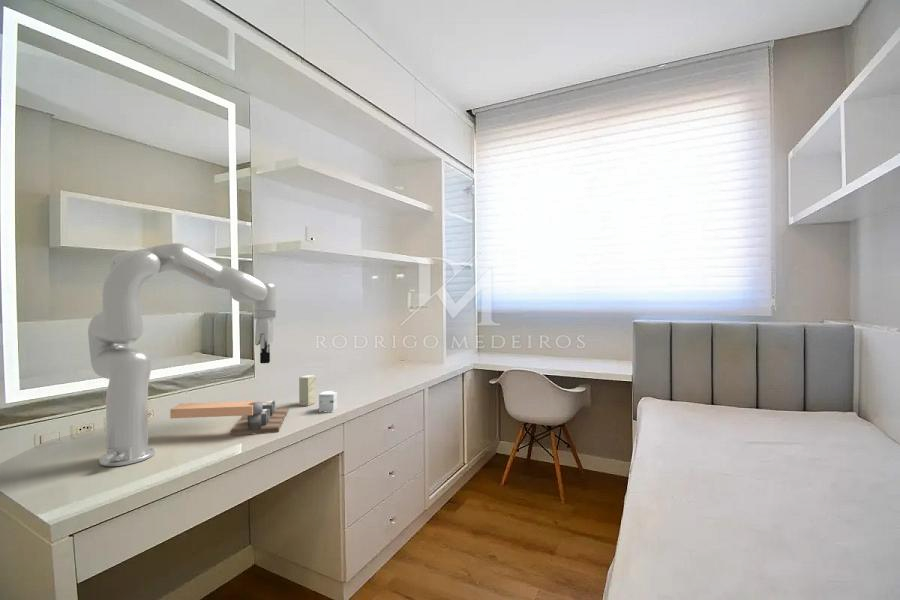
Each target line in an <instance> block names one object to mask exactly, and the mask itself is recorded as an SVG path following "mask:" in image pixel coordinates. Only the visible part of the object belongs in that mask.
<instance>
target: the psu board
mask: <svg viewBox="0 0 900 600" xmlns="http://www.w3.org/2000/svg"><path fill="white" fill-rule="evenodd" d="M260 402H262V403H263V412H262V413H259V414H253V415H247V416H241V418H240V419H239V420H238V422H236V424H235V425H234V426H233V427H232V429H231V430H230V436H242V435H241V434H245V435H253V434H252V433H258V434H266V433H265V432H271V433H280V431H281V428H282V426H283V424H284V422H285V420H284V419H286V418H285V417H287V415H288V413H289V407H281V408H279V407H278V408H276V400H265V401H260ZM283 421H284V422H283Z"/></svg>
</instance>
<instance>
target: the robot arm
mask: <svg viewBox="0 0 900 600" xmlns="http://www.w3.org/2000/svg"><path fill="white" fill-rule="evenodd" d="M109 270H110V272H109V274H108V275H106V276H107V277H106V278H105V281H104V282H103V286H102V294H101V295H102V296H101V297H102V311H101V312H99V313H97V314H95V315H94V316H93V317H92V318H91V320H90V322H89V325H88V329H87V335H88V336H87V337H88V347H89V357H90V364H91V367H92V371H94V373H95V374H96V375H97V376H99V377H101V378H103V379H107V380H108V385H107V389H106V396H105V413H106V414H105V421H106V422H105V424H106V425H105V429H106V430H105V431H106V432H105V435H106V437H105V438H106V439H105V440H106V441H105V444H106V449H105V450H106V453H105V454H104V455H102V456H101V457H99V460H98V463H99V464H98V465H100V466H103V467H119V466H126V465H132V464H136V463H139V462H142V461H145V460H147V459H149V458H151V457H153V456H154V455H155V451H156V449H155V448H154V447H152V446H150V445H149V384H150V383H149V382H150V376H151V371H152V363H151V359H150V357H149V356H148V354H146V353H145V352H143V351H142V350H141V349H137V348H132V347H131V348H130V346H129V344H132V343H135V342H137V341H138V340H140V338H141V336H142V334H143V332H144V327H143V314H142V306H141V305H142V304H141V297H142V296H141V293H142V289H143V288H144V286H145V284H146V283H147V282H148V281H149V280H150V279H152V278H153V277H155V276H156V275H157V274H159V273H163V272H166V271H176V272H178V273H180V274H182V275H184V276H187V277H189V278H190V279H193V280H195V281H197V282H198V283H201V284H203V285H205V286H208V287H213V288H218V289H223V290H224V289H225V290H229V293H230V297H231V299H233V300H234V301H236V302H239V303H253V310H254V311H253V320H256V321H255V334H254V335H255V336H254V345H255V346H259V349H260V350H259V351H260V353H259V362H260V364H270V363H271V352H270V351H271V350H270V349H271V344H272V343H273V338H274V337H273V336H274V327H273V326H274V325H273V323H274V322H273V320H276V319H277V318H276V316H277V315H276V303H277V302H276V290H277V289H276V285H275V283H273V282H262V281H261V280H260V279H258V278H256V277H254V276H252V275H250V274H249V273H247V272H244V271H241V270H240V269H239V270H238V269H235V268H233V267H230V266H228V265H225V264H221V263H220V262H217V261H216V260H214V259H212V258H210V257H208V256H207V255H204V254H203V253H201V252H199V251H198V250H196V249H194V248H192V247H190V246H188V245H186V244H184V243H179V242H175V243H166V244H165V243H163V244H160V245H154V246H150V247H145V248H141V249H134V250H129V251H125V252H120V253H117V254H115V255H114V256H113V257H112V258H111V259H110V260H109Z"/></svg>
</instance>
